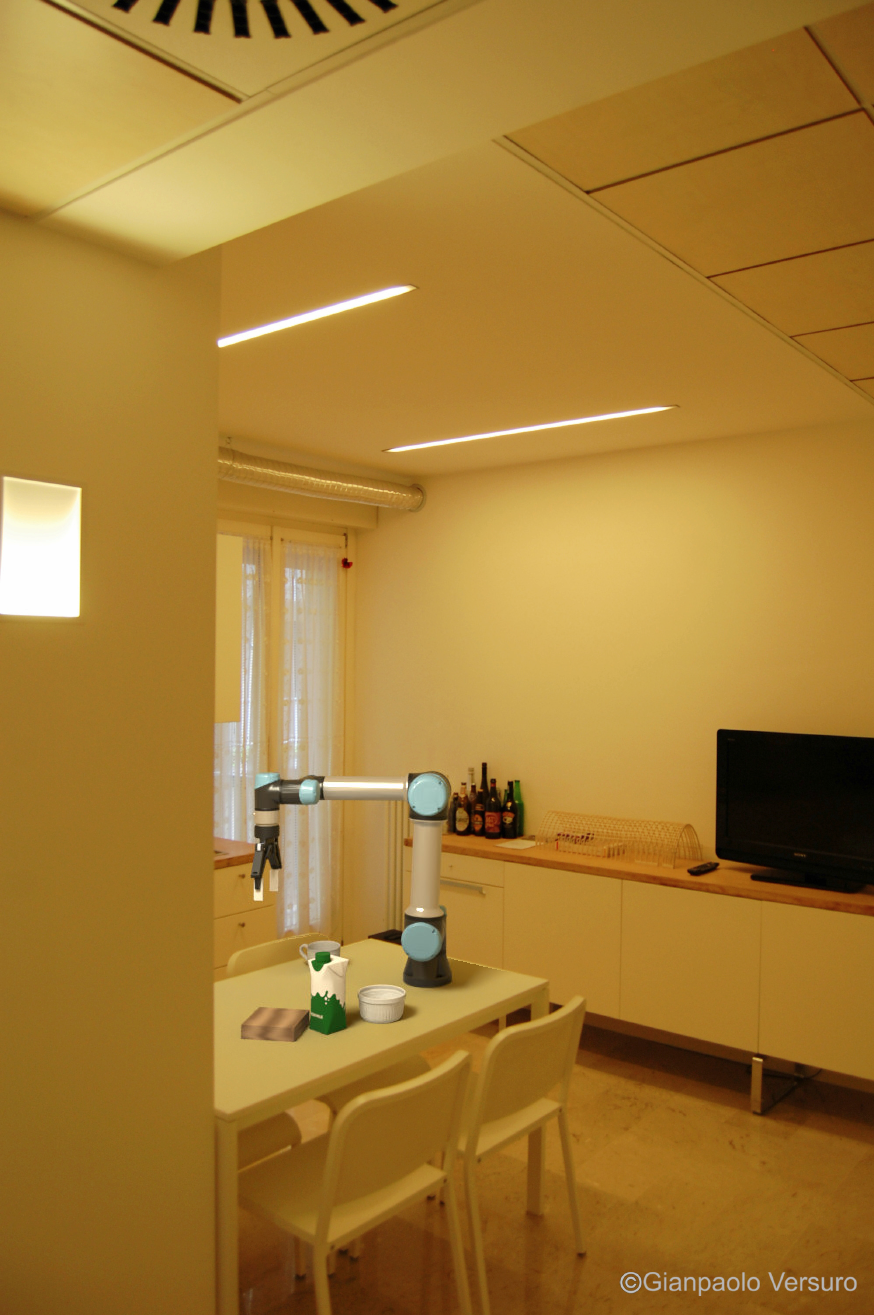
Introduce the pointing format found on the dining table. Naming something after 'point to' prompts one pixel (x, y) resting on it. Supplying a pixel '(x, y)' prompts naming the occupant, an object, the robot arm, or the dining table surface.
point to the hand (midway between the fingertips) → (266, 895)
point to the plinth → (275, 1024)
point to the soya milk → (328, 993)
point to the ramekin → (381, 1003)
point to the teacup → (320, 949)
